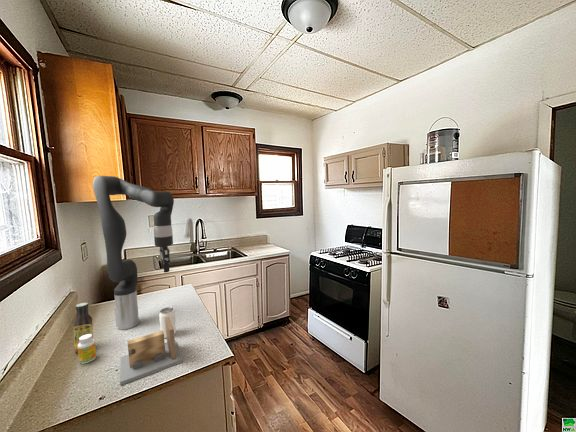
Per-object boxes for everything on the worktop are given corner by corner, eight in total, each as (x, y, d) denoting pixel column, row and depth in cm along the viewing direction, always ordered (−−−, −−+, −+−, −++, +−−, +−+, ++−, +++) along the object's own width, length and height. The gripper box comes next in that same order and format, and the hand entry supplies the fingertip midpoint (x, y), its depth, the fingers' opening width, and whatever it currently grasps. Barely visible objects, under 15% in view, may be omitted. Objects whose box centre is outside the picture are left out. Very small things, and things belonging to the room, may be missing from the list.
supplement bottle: (82, 365, 94) (79, 342, 93) (76, 361, 97) (74, 338, 96) (98, 357, 99) (96, 335, 98) (93, 353, 102) (90, 331, 101)
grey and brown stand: (120, 385, 84) (117, 349, 83) (121, 359, 97) (118, 328, 96) (182, 361, 95) (180, 329, 94) (175, 342, 108) (173, 313, 107)
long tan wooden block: (129, 369, 90) (127, 346, 89) (129, 363, 93) (127, 340, 92) (165, 356, 97) (164, 334, 96) (164, 351, 100) (162, 330, 99)
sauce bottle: (73, 355, 101) (67, 309, 99) (77, 347, 106) (72, 303, 105) (92, 350, 104) (88, 305, 102) (96, 342, 109) (91, 300, 108)
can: (169, 339, 110) (168, 313, 109) (157, 338, 112) (155, 312, 111) (179, 331, 117) (177, 307, 116) (167, 330, 118) (165, 306, 117)
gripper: (174, 236, 108) (176, 272, 109) (170, 232, 119) (172, 264, 121) (155, 238, 103) (157, 275, 105) (153, 233, 115) (155, 267, 117)
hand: (165, 269), depth 113 cm, fingers open, 8 cm apart
